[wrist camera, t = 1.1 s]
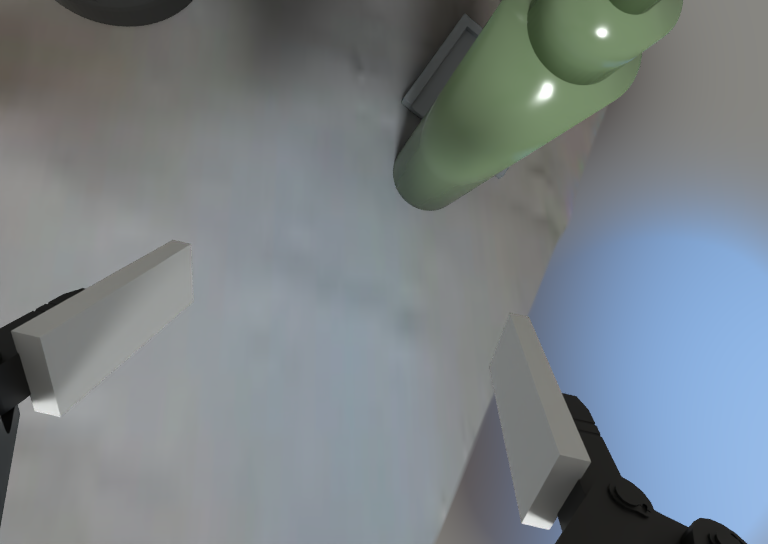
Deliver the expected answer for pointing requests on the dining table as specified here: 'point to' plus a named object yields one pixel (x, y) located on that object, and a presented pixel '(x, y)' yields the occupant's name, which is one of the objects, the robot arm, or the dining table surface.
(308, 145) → the dining table surface
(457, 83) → the wine bottle
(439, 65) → the seat pad
